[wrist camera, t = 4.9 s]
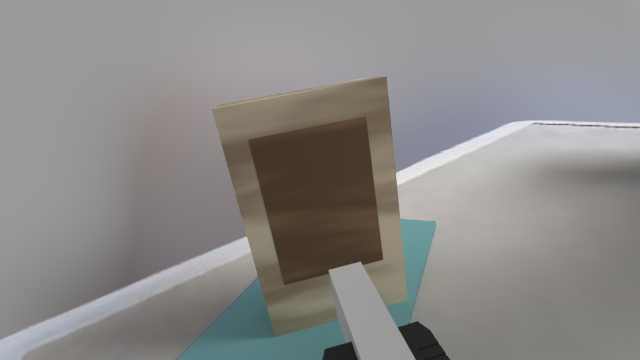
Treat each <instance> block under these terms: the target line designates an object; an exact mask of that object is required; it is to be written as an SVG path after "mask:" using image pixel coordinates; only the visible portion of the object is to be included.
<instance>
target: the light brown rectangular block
mask: <svg viewBox="0 0 640 360" xmlns="http://www.w3.org/2000/svg"><path fill="white" fill-rule="evenodd" d="M389 109H390V108H389V98H388V88H387V78H386V77H375V78H363V79H358V80H353V81H347V82H341V83H336V84H331V85H325V86H320V87H314V88H309V89H303V90H298V91H293V92H287V93H282V94H276V95H271V96H266V97H260V98H255V99H249V100H244V101H239V102H233V103H227V104H222V105H219V106H217V107H215V108H213V109H212V111H213V115H214V118H215V122H216V126H217V129H218V133H219V136H220V140H221V144H222V147H223V151H224V155H225V158H226V161H227V165H228V169H229V173H230V176H231V180H232V183H233V187H234V190H235V194H236V198H237V201H238V205H239V208H240V212H241V216H242V219H243V223H244V227H245V230H246V234H247V238H248V241H249V245H250V249H251V252H252V256H253V259H254V263H255V267H256V270H257V274H258V277H259V281H260V285H261V288H262V292H263V296H264V299H265V303H266V306H267V310H268V314H269V317H270V321H271V324H272V328H273V332H274V335H275V337H278V336H281V335H285V334H289V333H292V332H296V331H299V330H303V329H307V328H310V327H314V326H318V325H321V324H325V323H328V322H332V321H336V320H338V318H337V313H336V307H335V302H334V297H333V291H332V286H331V281H330V276H329V270H330V269H334V268H338V267H342V266H346V265H350V264H354V263H358V262H361V263H362V265H363V267H364V269H365V270H366V272H367V274H368V276H369V278H370V279H371V281H372V283H373V285H374V286H375V288H376V290H377V292H378V294H379V295H380V297H381V299H382V301H383V302H384V304H385V306H386V307H387V306H390V305H394V304H397V303H401V302H405V301H408V296H407V286H406V275H405V265H404V254H403V244H402V234H401V223H400V213H399V202H398V192H397V181H396V171H395V161H394V151H393V140H392V129H391V119H390V110H389Z"/></svg>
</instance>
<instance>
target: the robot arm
mask: <svg viewBox="0 0 640 360" xmlns="http://www.w3.org/2000/svg"><path fill="white" fill-rule="evenodd" d="M329 276H330V281H331V286H332V291H333V297H334V302H335V307H336V313H337V318H338V321H339V324H340V327H341V330H342V333H343V336H344V340H345V343H344V344H341V345H337V346H334V347H330V348H327V349H325V350H324V354H323V359H322V360H450V359H449V357H448V356H446V353H445V352H444V350H443V349H442V347H441V346H440V345H439V343H438V341H437V340H436V338H435V337H434V336H433V334H432V333H431V331H430V330H429V329H427V328H426V327H425V326H423V325H422V324H420V323H419V322H418V321H417V322H414V323H410V324H407V325H403V326H400V327H397V326H396V324H395V322H394V320H393V318H392V317H391V315H390V313H389V311H388V310H387V308H386V306H385V304H384V302H383V301H382V299H381V297H380V295H379V294H378V292H377V290H376V288H375V286H374V285H373V283H372V281H371V279H370V278H369V276H368V274H367V272H366V270H365V269H364V267H363V265H362V263H361V262H358V263H354V264H350V265H346V266H342V267H338V268H334V269H330V270H329Z"/></svg>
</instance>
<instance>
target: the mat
mask: <svg viewBox="0 0 640 360" xmlns="http://www.w3.org/2000/svg"><path fill="white" fill-rule="evenodd" d="M400 223H401V234H402V244H403V254H404V265H405V275H406V286H407V296H408V301H405V302H401V303H397V304H394V305H390V306H387V307H386V308H387V310H388V311H389V313H390V315H391V317H392V318H393V320H394V322H395V324H396V326H397V327H400V326H403V325H407V324H408V323H409V319H410V316H411V312H412V309H413V305H414V302H415V298H416V294H417V291H418V287H419V284H420V280H421V277H422V273H423V270H424V266H425V263H426V259H427V256H428V252H429V249H430V245H431V242H432V238H433V235H434V231H435V228H436V221H420V220H405V219H400ZM344 343H345V340H344V336H343V333H342V330H341V327H340V324H339V321H338V320H336V321H332V322H328V323H325V324H321V325H318V326H314V327H310V328H307V329H303V330H299V331H296V332H292V333H289V334H285V335H281V336H278V337H275V335H274V332H273V328H272V324H271V321H270V317H269V314H268V310H267V306H266V303H265V299H264V296H263V292H262V288H261V285H260V281H259V277H258V278H257V279H256V280H255V281H254V282H253V283H252V284H251V285H250V286H249V287H248V288H247V289H246V290H245V291H244V292H243V293H242V294H241V295H240V296H239V297H238V298H237V299H236V300H235V301H234V303H233V304H232V305H231V306H230V307H229V308H228V309H227V310H226V311H225V312H224V313H223V314H222V315H221V316H220V317H219V318H218V319H217V320H216V321H215V322H214V323H213V324H212V325H211V326H210V327H209V328H208V329H207V330H206V331H205V332H204V333H203V334H202V335H201V336H200V337H199V338H198V339H197V340H196V341H195V342H194V343H193V344H192V345H191V346H190V347H189V348H188V349H187V350H186V351H185V352H184V353H183V354H182V355H181V356H180V357H179V358H178V359H177V360H322V359H323V354H324V350H325V349H327V348H330V347H334V346H337V345H341V344H344Z"/></svg>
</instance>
